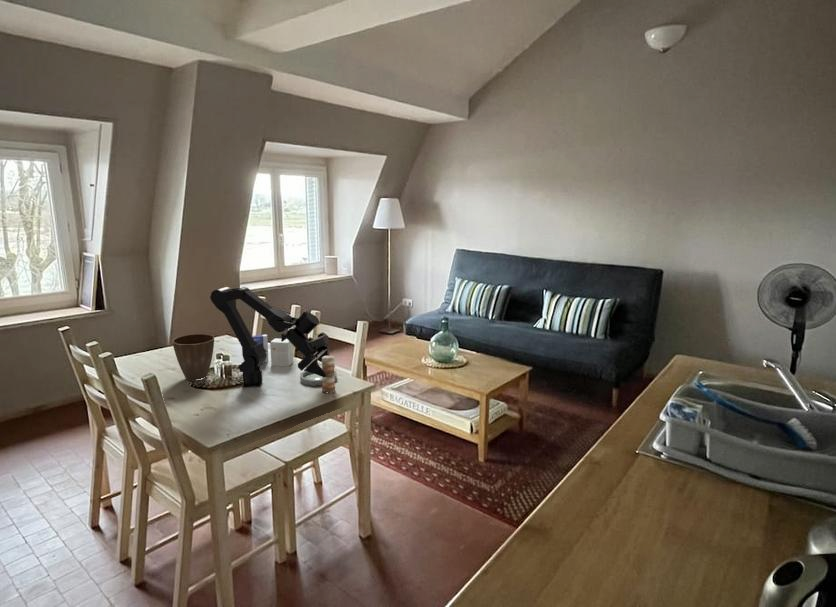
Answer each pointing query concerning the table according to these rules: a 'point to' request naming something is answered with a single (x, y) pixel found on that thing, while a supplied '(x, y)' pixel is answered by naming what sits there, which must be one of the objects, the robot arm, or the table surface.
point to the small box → (281, 352)
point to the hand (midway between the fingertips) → (330, 372)
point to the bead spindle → (328, 374)
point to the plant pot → (194, 354)
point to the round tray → (313, 378)
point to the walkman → (263, 340)
